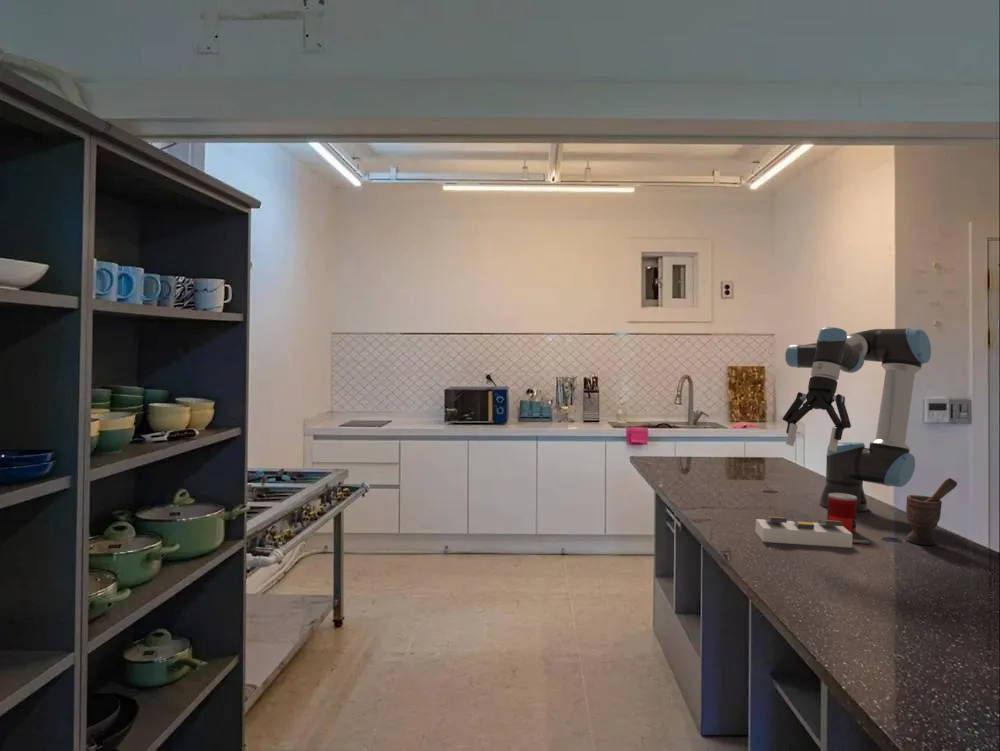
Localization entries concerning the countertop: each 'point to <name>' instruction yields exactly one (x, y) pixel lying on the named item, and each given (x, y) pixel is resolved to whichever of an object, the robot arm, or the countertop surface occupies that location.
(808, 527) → the rocker middle
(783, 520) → the block
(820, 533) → the rocker switch panel
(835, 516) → the canned food
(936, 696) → the countertop surface
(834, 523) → the rocker
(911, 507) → the mortar and pestle
